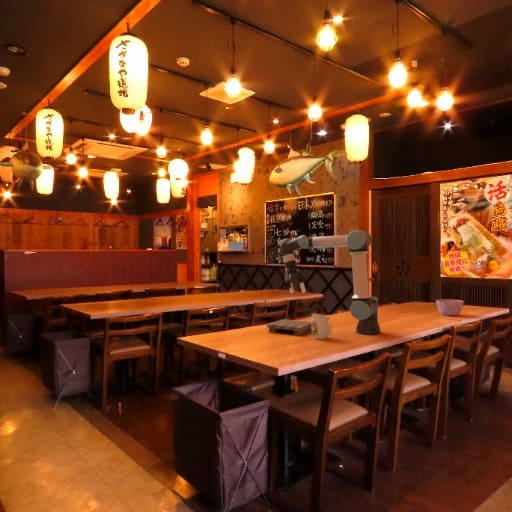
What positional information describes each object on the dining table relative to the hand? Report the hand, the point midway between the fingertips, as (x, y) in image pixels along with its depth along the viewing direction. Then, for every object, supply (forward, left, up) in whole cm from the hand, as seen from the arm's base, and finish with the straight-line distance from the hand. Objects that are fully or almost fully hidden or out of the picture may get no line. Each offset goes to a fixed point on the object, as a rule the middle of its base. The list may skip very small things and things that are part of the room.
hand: (298, 292), depth 277 cm
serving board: (+4, +2, -25) cm, 25 cm away
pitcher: (-22, +13, -25) cm, 36 cm away
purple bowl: (-74, -116, -25) cm, 140 cm away
